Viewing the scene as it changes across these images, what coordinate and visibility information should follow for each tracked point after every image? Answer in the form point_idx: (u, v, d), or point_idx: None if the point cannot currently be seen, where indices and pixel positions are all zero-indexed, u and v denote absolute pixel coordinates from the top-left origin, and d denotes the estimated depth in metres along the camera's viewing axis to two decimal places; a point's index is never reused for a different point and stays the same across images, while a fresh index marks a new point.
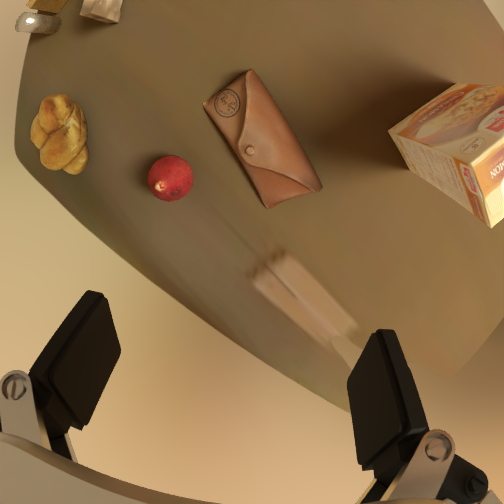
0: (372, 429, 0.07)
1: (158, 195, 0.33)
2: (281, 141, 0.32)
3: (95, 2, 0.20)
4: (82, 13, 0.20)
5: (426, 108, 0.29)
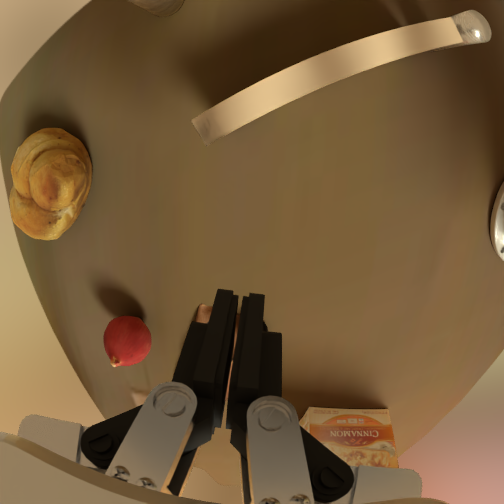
0: None
1: None
2: None
3: None
4: (196, 124, 0.15)
5: (347, 419, 0.38)
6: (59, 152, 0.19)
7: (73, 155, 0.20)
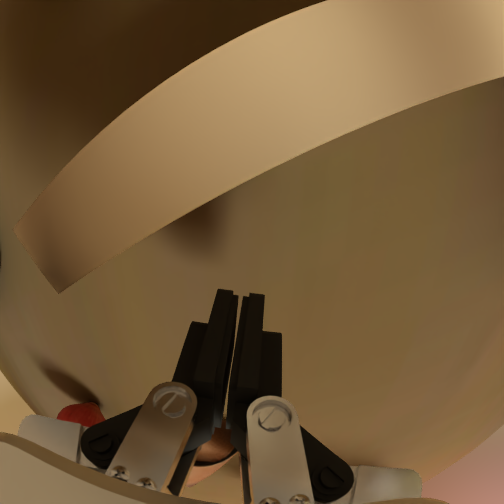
0: None
1: None
2: (198, 477, 0.23)
3: None
4: (24, 239, 0.05)
5: None
6: None
7: None
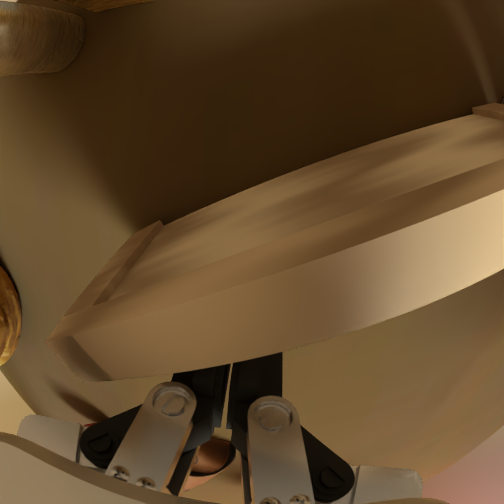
0: None
1: None
2: (193, 484, 0.25)
3: None
4: (55, 350, 0.07)
5: None
6: None
7: None
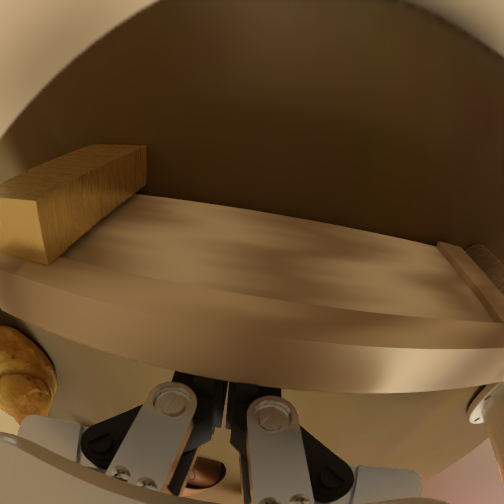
0: None
1: None
2: (190, 493, 0.30)
3: None
4: None
5: None
6: (19, 391, 0.15)
7: (33, 389, 0.16)
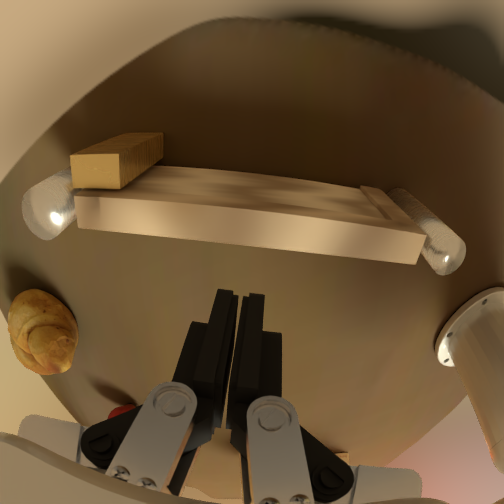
0: None
1: None
2: None
3: (105, 227, 0.14)
4: (77, 202, 0.13)
5: None
6: (50, 337, 0.22)
7: (62, 336, 0.23)
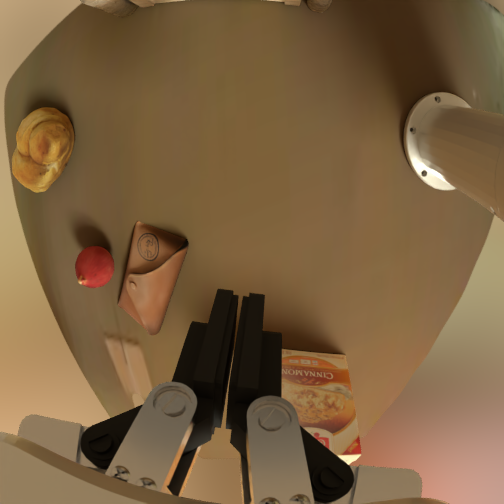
0: None
1: (78, 279, 0.34)
2: (154, 302, 0.39)
3: None
4: None
5: (300, 360, 0.44)
6: (52, 122, 0.25)
7: (61, 125, 0.26)
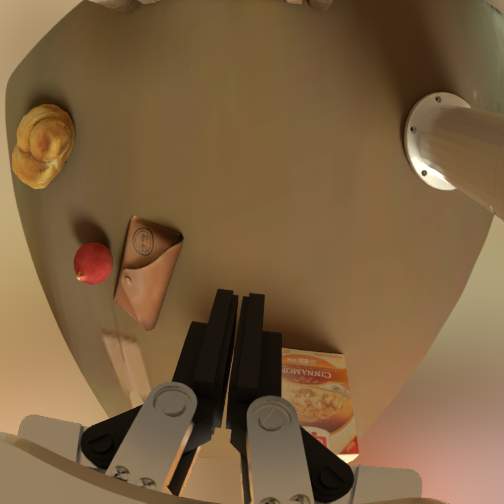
0: None
1: None
2: (149, 297, 0.39)
3: None
4: None
5: (298, 359, 0.44)
6: (53, 119, 0.25)
7: (62, 122, 0.26)
